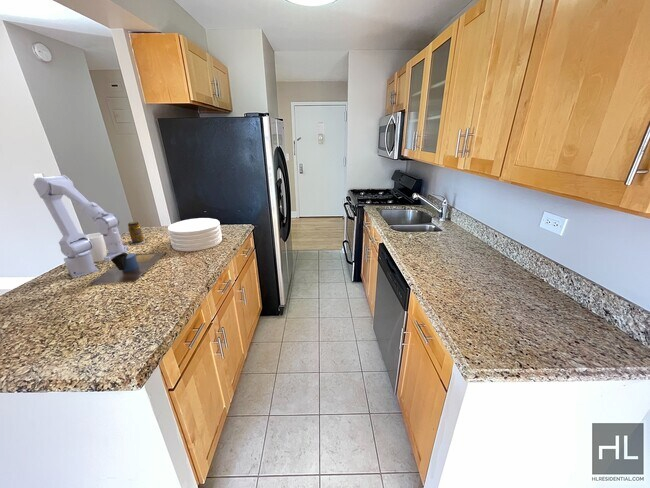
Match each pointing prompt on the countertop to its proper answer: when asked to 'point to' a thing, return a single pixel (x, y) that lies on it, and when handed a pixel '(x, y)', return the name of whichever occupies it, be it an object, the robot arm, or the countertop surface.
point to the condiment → (135, 233)
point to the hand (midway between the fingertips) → (122, 269)
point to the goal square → (144, 257)
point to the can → (131, 263)
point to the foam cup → (97, 246)
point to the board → (130, 276)
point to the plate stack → (195, 234)
